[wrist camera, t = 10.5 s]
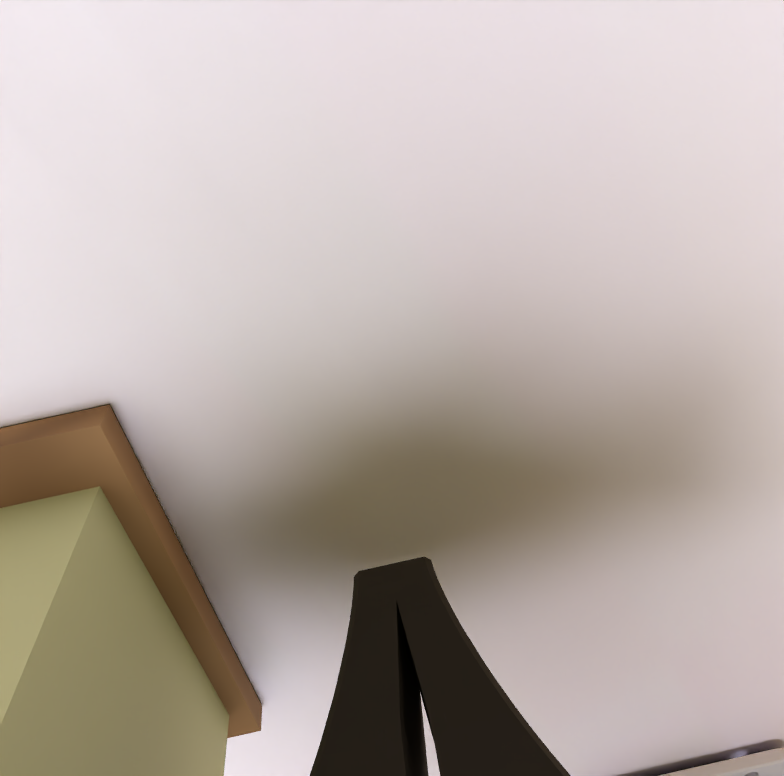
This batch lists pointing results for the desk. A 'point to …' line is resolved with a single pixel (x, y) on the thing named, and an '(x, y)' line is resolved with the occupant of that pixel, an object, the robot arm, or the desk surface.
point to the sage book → (94, 653)
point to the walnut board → (127, 530)
